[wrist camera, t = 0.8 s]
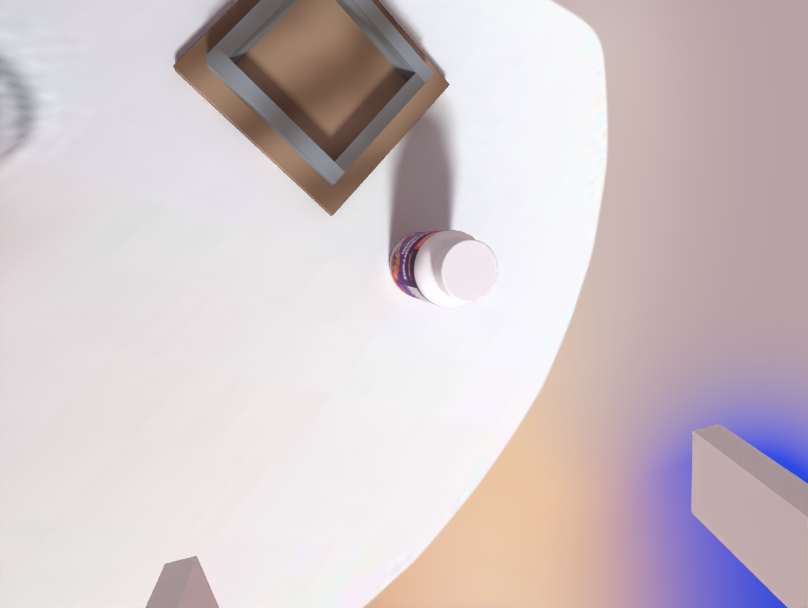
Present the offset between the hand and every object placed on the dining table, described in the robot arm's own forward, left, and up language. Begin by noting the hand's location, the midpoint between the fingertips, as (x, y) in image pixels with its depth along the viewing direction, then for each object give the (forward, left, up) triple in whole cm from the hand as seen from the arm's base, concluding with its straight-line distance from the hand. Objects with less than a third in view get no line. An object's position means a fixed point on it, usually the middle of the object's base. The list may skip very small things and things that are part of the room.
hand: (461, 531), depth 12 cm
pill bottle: (+2, +10, -26) cm, 28 cm away
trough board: (-13, +15, -26) cm, 32 cm away
